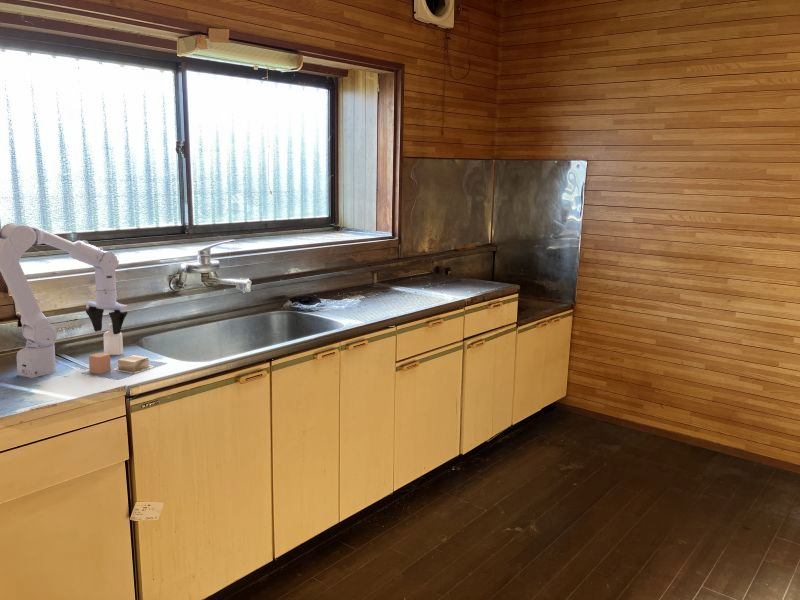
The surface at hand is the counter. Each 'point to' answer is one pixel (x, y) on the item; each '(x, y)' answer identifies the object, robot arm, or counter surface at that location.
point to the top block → (99, 363)
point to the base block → (133, 363)
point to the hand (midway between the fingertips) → (107, 332)
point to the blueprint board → (123, 371)
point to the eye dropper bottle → (113, 342)
